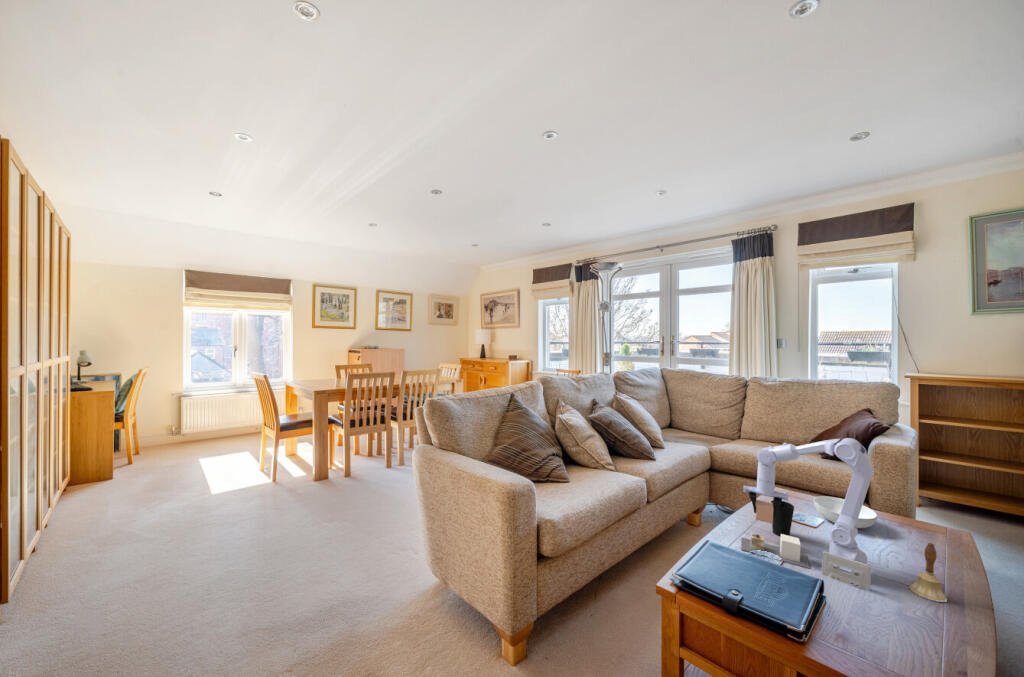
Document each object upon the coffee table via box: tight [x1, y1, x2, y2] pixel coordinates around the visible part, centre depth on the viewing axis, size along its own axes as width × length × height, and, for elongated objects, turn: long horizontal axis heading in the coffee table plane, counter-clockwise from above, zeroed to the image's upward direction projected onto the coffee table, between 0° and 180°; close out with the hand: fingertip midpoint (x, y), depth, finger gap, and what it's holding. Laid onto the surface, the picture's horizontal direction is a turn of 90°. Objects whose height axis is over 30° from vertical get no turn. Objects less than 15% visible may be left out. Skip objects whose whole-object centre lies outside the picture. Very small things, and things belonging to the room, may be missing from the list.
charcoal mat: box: [740, 537, 810, 570], centre depth 143 cm, size 20×10×1 cm, turn 59°
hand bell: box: [908, 542, 947, 600], centre depth 122 cm, size 8×8×16 cm
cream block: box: [779, 534, 801, 562], centre depth 141 cm, size 5×5×6 cm
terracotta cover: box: [755, 498, 773, 525], centre depth 152 cm, size 5×5×6 cm
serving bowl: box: [813, 495, 878, 529], centre depth 169 cm, size 21×21×7 cm
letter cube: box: [750, 532, 765, 551], centre depth 146 cm, size 4×4×4 cm
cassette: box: [821, 550, 872, 592], centre depth 127 cm, size 12×2×8 cm, turn 49°
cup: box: [770, 500, 795, 538], centre depth 157 cm, size 8×8×12 cm
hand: (764, 514), depth 152 cm, fingers closed on terracotta cover, 5 cm apart
